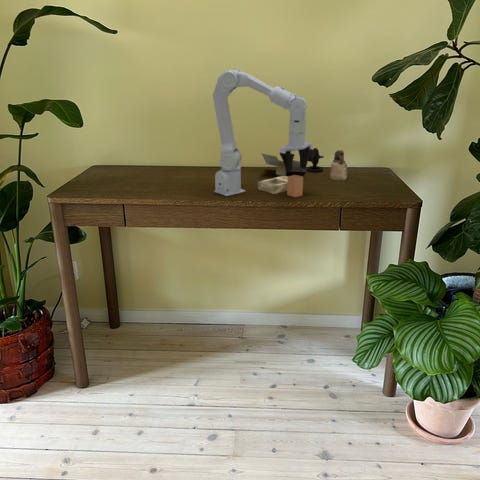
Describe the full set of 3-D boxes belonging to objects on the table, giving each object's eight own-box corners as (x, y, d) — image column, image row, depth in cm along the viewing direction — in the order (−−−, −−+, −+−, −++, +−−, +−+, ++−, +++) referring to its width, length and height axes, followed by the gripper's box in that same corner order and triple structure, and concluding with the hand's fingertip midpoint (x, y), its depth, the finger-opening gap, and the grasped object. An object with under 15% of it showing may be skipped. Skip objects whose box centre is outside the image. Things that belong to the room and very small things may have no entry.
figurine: (344, 176, 206) (346, 148, 201) (348, 180, 199) (351, 151, 195) (328, 176, 206) (329, 148, 201) (331, 180, 199) (333, 151, 195)
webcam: (305, 168, 220) (306, 146, 216) (322, 168, 219) (323, 146, 215) (306, 172, 212) (307, 149, 209) (323, 172, 212) (325, 150, 208)
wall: (259, 182, 215) (254, 164, 199) (265, 163, 218) (262, 143, 202) (299, 192, 210) (298, 174, 195) (306, 172, 213) (305, 153, 197)
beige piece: (273, 194, 182) (274, 186, 181) (258, 189, 188) (258, 181, 187) (299, 187, 190) (300, 179, 189) (283, 182, 197) (283, 175, 196)
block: (294, 197, 178) (295, 178, 175) (287, 195, 181) (287, 176, 178) (302, 195, 180) (303, 176, 178) (294, 193, 183) (295, 174, 181)
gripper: (290, 136, 165) (289, 175, 170) (319, 131, 173) (317, 168, 178) (276, 133, 170) (275, 171, 175) (304, 129, 179) (303, 165, 184)
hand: (295, 170), depth 177 cm, fingers open, 7 cm apart
